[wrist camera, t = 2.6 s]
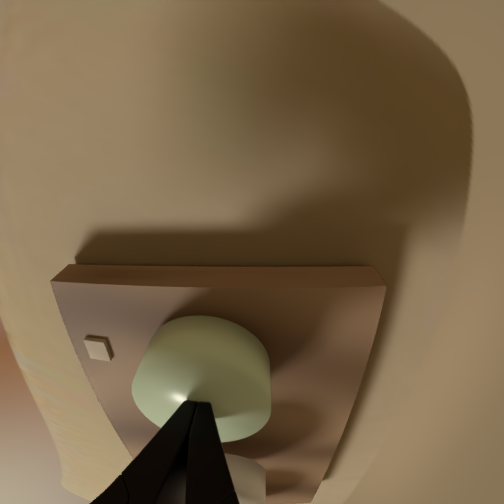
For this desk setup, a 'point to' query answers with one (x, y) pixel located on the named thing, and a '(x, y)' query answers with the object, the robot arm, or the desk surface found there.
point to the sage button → (206, 374)
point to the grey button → (247, 479)
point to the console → (254, 320)
